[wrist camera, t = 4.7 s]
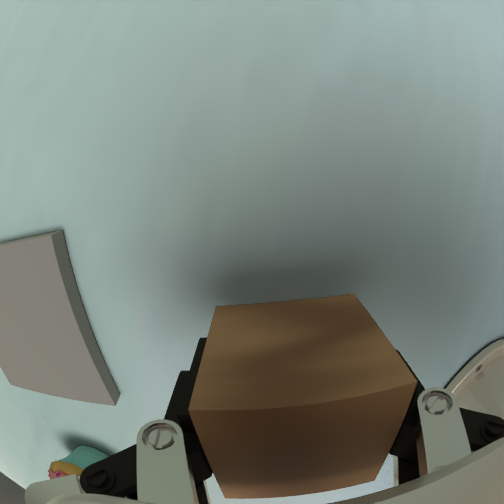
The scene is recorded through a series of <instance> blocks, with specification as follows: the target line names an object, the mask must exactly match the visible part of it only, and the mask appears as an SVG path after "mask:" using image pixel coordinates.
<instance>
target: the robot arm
mask: <svg viewBox="0 0 504 504" xmlns="http://www.w3.org/2000/svg"><path fill="white" fill-rule="evenodd" d="M206 341H207V338H200V339H199V342H198V345H197V348H196V352H195V355H194V358H193V361H192V365H191V368H190V371H181V372H180V374H179V376H178V379H177V382H176V385H175V388H174V391H173V394H172V397H171V400H170V403H169V406H168V409H167V412H166V415H165V418H164V419H163V420H154V421H151V422H149V423H147V424H145V425H144V426H143V427H142V428H141V429H140V430H139V432H138V435H137V444H135V445H133V446H131V447H129V448H127V449H125V450H123V451H120V452H118V453H116V454H114V455H112V456H109V457H107V458H105V459H103V460H100V461H98V462H95V463H93V464H91V465H89V466H87V467H86V468H85V469H84V470H83V471H82V473H81V475H80V476H76V475H75V474H72V475H68V476H64V477H60V478H56V479H51V480H46V481H41V482H36V483H33V484H30V485H29V486H28V487H27V489H26V491H25V501H26V504H211V502H210V498H209V494H208V490H207V486H206V481H205V480H206V479H208V478H209V477H211V476H212V473H213V471H212V469H211V466H210V464H209V462H208V459H207V457H206V455H205V452H204V450H203V447H202V445H201V442H200V440H199V437H198V435H197V432H196V430H195V427H194V424H193V422H192V419H191V416H190V413H189V411H188V409H189V405H190V401H191V397H192V393H193V389H194V386H195V382H196V378H197V374H198V370H199V367H200V363H201V359H202V355H203V352H204V348H205V344H206ZM395 350H396V349H395ZM396 351H397V353H398V354H399V355H400V357H401V358H402V360H403V361H404V363H405V364H406V366H407V367H408V368H409V370H410V371H411V373H412V374H413V376H414V377H415V379H416V380H417V384H416V387H415V390H414V393H413V396H412V399H411V401H410V404H409V407H408V409H407V412H406V415H405V417H404V420H403V422H402V424H401V427H400V429H399V432H398V434H397V436H396V438H395V441H394V443H393V445H392V447H391V449H390V451H389V454H391V455H394V456H393V461H394V487H392V488H389V489H386V490H382V491H379V492H375V493H372V494H368V495H365V496H361V497H357V498H352V499H348V500H343V501H339V502H333V503H328V504H504V339H501V340H498V341H496V342H494V343H492V344H491V345H489V346H488V347H486V348H485V349H483V350H482V351H481V352H480V353H479V354H477V355H476V356H475V357H474V358H473V359H472V360H471V361H470V362H469V363H468V364H467V365H466V366H465V367H464V368H463V369H462V370H461V371H460V372H459V373H458V374H457V375H456V376H455V378H454V379H453V380H452V381H451V382H450V383H449V385H448V386H447V387H446V389H443V388H429V389H427V390H425V388H424V387H423V385H422V384H421V382H420V381H419V380H418V378H417V377H416V375H415V374H414V372H413V371H412V369H411V368H410V366H409V365H408V364H407V362H406V361H405V359H404V358H403V357H402V355H401V354H400V352H399V351H398V350H396Z"/></svg>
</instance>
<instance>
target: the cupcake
mask: <svg viewBox="0 0 504 504" xmlns="http://www.w3.org/2000/svg"><path fill="white" fill-rule="evenodd" d="M107 457H109V456H108V455H106V454H105V453H103V452H101V451H99V450H97V449H95V448H92V447H89V446H84V445H81V446H78V447H77V448H76V449H75V450H74V451H73V452H72V453H71V454H70V455H68V456H67V457H66V458H64V459H61V460H59V461H55V462H52V463H51V465H50V469H49V471H48V472H49V477H50V480H51V479H56V478H60V477H64V476H68V475H72V474H75V475H76V476H80V475H81V473H82V471H83V470H84V469H85V468H86V467H87V466H89V465H91V464H93V463H95V462H98V461H100V460H103V459H105V458H107Z"/></svg>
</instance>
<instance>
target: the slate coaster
mask: <svg viewBox="0 0 504 504" xmlns="http://www.w3.org/2000/svg"><path fill="white" fill-rule="evenodd" d="M0 367H1V369H2V370H3V372H4V374H5V376H6V377H7V379H8V381H9V382H10V384H11V385H14V386H17V387H21V388H24V389H28V390H32V391H36V392H40V393H44V394H48V395H53V396H58V397H63V398H68V399H73V400H79V401H85V402H91V403H98V404H106V405H114V406H116V403H117V401H118V399H119V396H120V393H119V391H118V389H117V387H116V385H115V383H114V381H113V379H112V376H111V374H110V372H109V370H108V368H107V366H106V363H105V361H104V359H103V356H102V354H101V352H100V349H99V347H98V345H97V342H96V340H95V337H94V335H93V332H92V329H91V327H90V324H89V321H88V318H87V316H86V313H85V310H84V307H83V304H82V301H81V298H80V295H79V291H78V288H77V285H76V282H75V278H74V275H73V271H72V267H71V263H70V260H69V256H68V251H67V247H66V243H65V238H64V234H63V230H60V231H55V232H50V233H45V234H40V235H35V236H30V237H26V238H21V239H16V240H12V241H7V242H3V243H0Z"/></svg>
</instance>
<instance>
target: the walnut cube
mask: <svg viewBox="0 0 504 504" xmlns="http://www.w3.org/2000/svg"><path fill="white" fill-rule="evenodd" d="M416 384H417V380H416V379H415V377H414V376H413V374H412V373H411V371H410V370H409V368H408V367H407V366H406V364H405V363H404V361H403V360H402V358H401V357H400V355H399V354H398V353H397V351H396V350H395V348H394V347H393V346H392V344H391V343H390V341H389V340H388V339H387V337H386V336H385V334H384V333H383V332H382V330H381V329H380V328H379V326H378V325H377V323H376V322H375V321H374V319H373V318H372V317H371V315H370V314H369V313H368V311H367V310H366V309H365V307H364V306H363V305H362V303H361V302H360V301H359V299H358V298H357V297H356V296H355V294H346V295H338V296H329V297H320V298H311V299H301V300H291V301H280V302H269V303H256V304H243V305H228V306H216V308H215V312H214V315H213V319H212V322H211V326H210V330H209V333H208V337H207V341H206V344H205V348H204V352H203V355H202V359H201V363H200V367H199V370H198V374H197V378H196V382H195V386H194V389H193V393H192V397H191V401H190V405H189V409H188V411H189V413H190V416H191V419H192V422H193V424H194V427H195V430H196V432H197V435H198V437H199V440H200V442H201V445H202V447H203V450H204V452H205V455H206V457H207V459H208V462H209V464H210V466H211V469H212V471H213V473H214V475H215V478H216V480H217V482H218V484H219V486H220V488H221V491H222V493H223V495H224V497H225V498H238V499H244V498H273V497H286V496H296V495H304V494H312V493H318V492H325V491H330V490H336V489H341V488H345V487H350V486H354V485H359V484H363V483H366V482H370V481H374V480H375V478H376V477H377V475H378V473H379V471H380V469H381V467H382V465H383V463H384V461H385V459H386V457H387V455H388V453H389V451H390V449H391V447H392V445H393V443H394V441H395V438H396V436H397V434H398V432H399V429H400V427H401V424H402V422H403V420H404V417H405V415H406V412H407V409H408V407H409V404H410V401H411V399H412V396H413V393H414V390H415V387H416Z"/></svg>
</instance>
